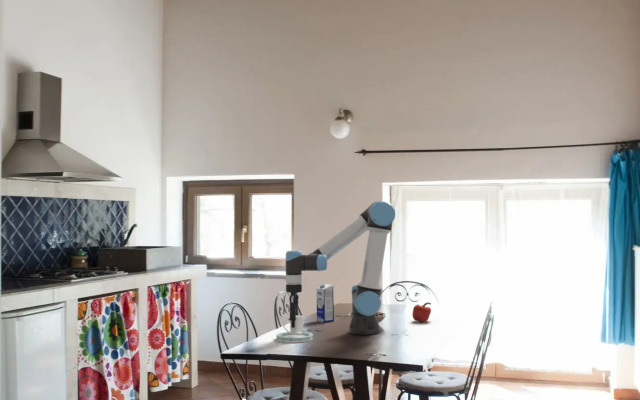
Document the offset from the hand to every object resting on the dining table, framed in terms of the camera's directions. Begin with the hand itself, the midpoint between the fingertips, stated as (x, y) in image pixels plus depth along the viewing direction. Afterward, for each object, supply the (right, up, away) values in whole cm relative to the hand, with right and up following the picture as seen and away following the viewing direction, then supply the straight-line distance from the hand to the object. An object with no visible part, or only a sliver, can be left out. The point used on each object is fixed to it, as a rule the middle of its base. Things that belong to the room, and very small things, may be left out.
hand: (294, 332), depth 303 cm
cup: (0, -1, 0) cm, 1 cm away
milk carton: (+15, -4, +49) cm, 51 cm away
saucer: (0, -3, 0) cm, 3 cm away
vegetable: (+67, -3, +43) cm, 80 cm away
